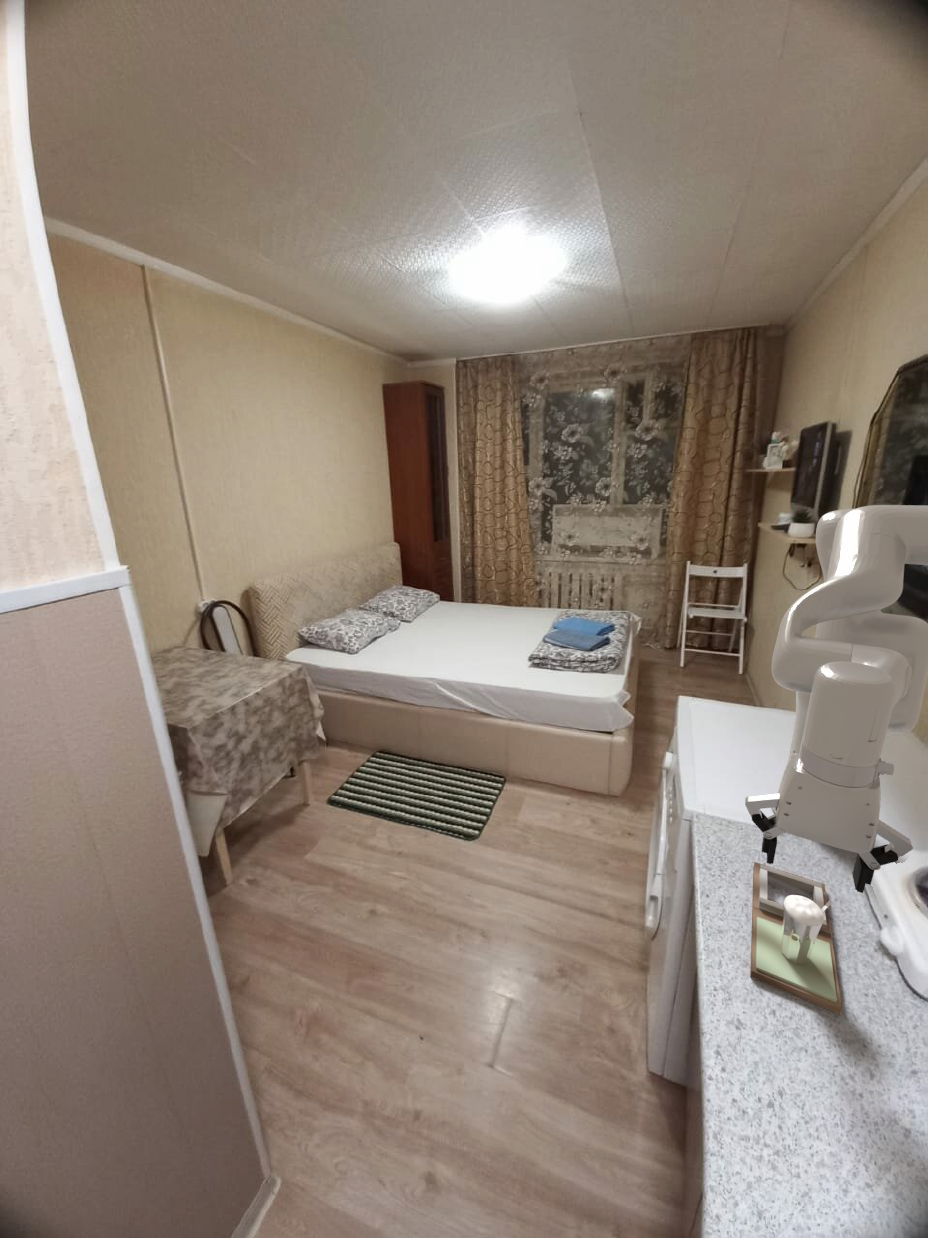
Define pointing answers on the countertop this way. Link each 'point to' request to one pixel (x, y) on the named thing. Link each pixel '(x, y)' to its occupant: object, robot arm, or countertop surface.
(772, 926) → the board
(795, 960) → the milkshake
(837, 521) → the robot arm
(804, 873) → the countertop surface
